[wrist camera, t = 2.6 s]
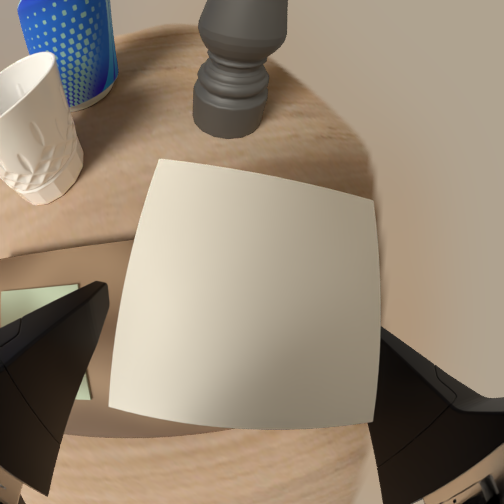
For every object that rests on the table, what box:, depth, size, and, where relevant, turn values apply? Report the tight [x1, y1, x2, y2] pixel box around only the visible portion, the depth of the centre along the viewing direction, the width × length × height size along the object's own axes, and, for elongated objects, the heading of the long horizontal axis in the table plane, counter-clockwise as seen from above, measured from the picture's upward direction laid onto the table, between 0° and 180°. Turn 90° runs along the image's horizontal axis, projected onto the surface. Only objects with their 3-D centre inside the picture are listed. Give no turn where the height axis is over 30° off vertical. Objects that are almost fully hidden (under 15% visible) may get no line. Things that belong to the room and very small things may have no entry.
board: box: [0, 240, 235, 438], centre depth 12 cm, size 12×22×6 cm, turn 100°
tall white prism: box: [109, 159, 381, 430], centre depth 10 cm, size 6×5×11 cm
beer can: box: [17, 0, 119, 112], centre depth 14 cm, size 8×8×16 cm
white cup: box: [0, 52, 84, 205], centre depth 13 cm, size 8×8×10 cm
